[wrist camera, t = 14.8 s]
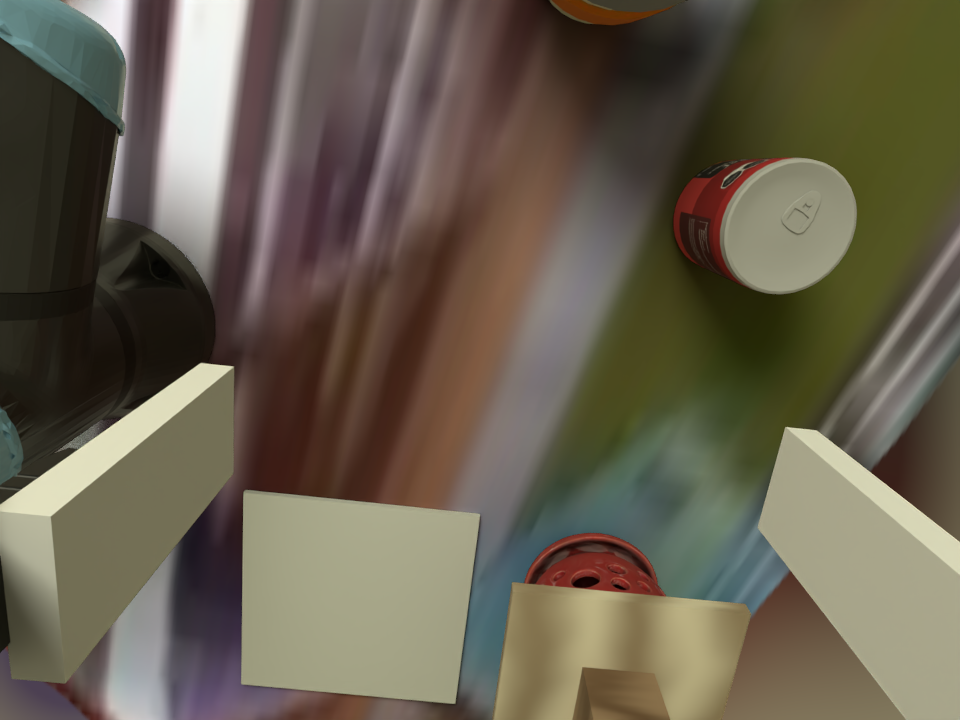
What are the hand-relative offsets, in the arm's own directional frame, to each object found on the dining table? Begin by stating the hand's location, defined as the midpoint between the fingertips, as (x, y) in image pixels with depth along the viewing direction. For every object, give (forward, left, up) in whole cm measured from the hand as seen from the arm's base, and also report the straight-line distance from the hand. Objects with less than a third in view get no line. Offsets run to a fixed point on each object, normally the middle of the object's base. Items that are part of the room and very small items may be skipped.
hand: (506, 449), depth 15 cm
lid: (+12, -28, -23) cm, 38 cm away
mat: (-8, -32, -35) cm, 48 cm away
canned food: (+17, +5, -35) cm, 39 cm away
